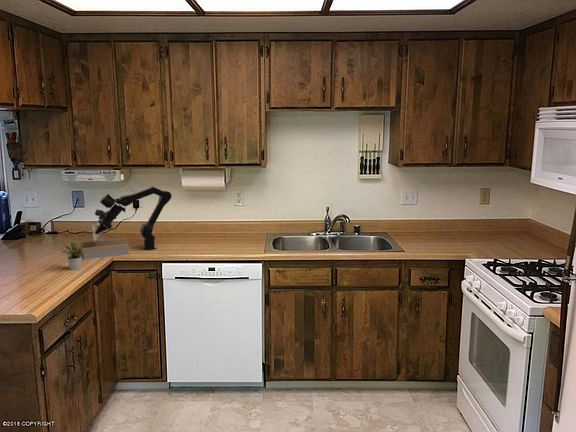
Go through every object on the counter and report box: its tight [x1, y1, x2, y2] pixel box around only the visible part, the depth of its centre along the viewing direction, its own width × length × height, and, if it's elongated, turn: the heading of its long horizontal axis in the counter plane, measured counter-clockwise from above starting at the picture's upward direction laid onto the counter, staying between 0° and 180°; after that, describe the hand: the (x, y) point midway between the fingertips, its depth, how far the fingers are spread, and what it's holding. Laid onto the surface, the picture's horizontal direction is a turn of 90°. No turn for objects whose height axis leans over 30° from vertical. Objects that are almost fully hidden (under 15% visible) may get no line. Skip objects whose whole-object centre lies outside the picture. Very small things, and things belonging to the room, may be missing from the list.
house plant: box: [59, 238, 85, 271], centre depth 263 cm, size 14×14×16 cm
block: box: [91, 222, 104, 241], centre depth 292 cm, size 5×5×10 cm
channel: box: [80, 238, 130, 260], centre depth 295 cm, size 25×18×6 cm
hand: (95, 232), depth 292 cm, fingers closed on block, 5 cm apart
